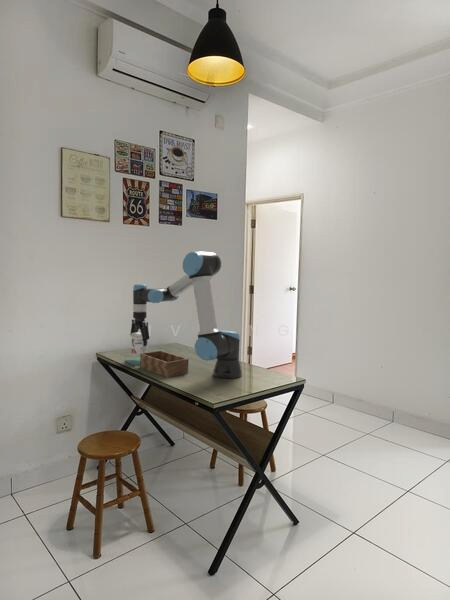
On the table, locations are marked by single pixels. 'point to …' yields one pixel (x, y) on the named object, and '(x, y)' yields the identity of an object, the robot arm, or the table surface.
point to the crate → (164, 363)
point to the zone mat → (133, 361)
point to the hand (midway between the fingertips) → (139, 349)
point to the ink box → (137, 343)
